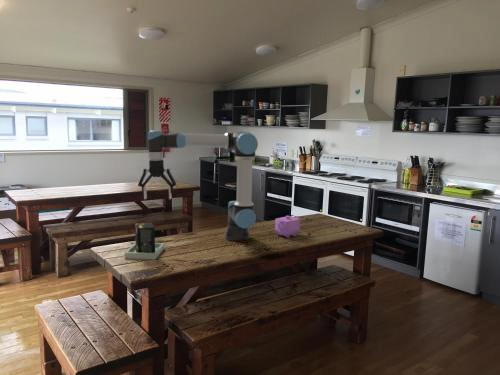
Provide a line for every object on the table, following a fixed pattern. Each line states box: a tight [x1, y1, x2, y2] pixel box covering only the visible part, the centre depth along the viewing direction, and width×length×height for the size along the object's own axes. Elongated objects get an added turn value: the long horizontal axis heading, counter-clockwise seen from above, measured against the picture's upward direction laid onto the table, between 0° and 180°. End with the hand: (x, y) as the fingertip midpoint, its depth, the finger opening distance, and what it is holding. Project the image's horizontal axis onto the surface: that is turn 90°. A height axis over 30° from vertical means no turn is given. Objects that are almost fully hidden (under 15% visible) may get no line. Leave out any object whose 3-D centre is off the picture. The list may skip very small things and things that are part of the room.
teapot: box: [274, 215, 301, 239], centre depth 268 cm, size 20×10×12 cm, turn 131°
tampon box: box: [134, 222, 156, 253], centre depth 227 cm, size 11×9×15 cm
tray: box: [124, 242, 165, 260], centre depth 228 cm, size 16×18×3 cm
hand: (157, 198), depth 231 cm, fingers open, 13 cm apart
